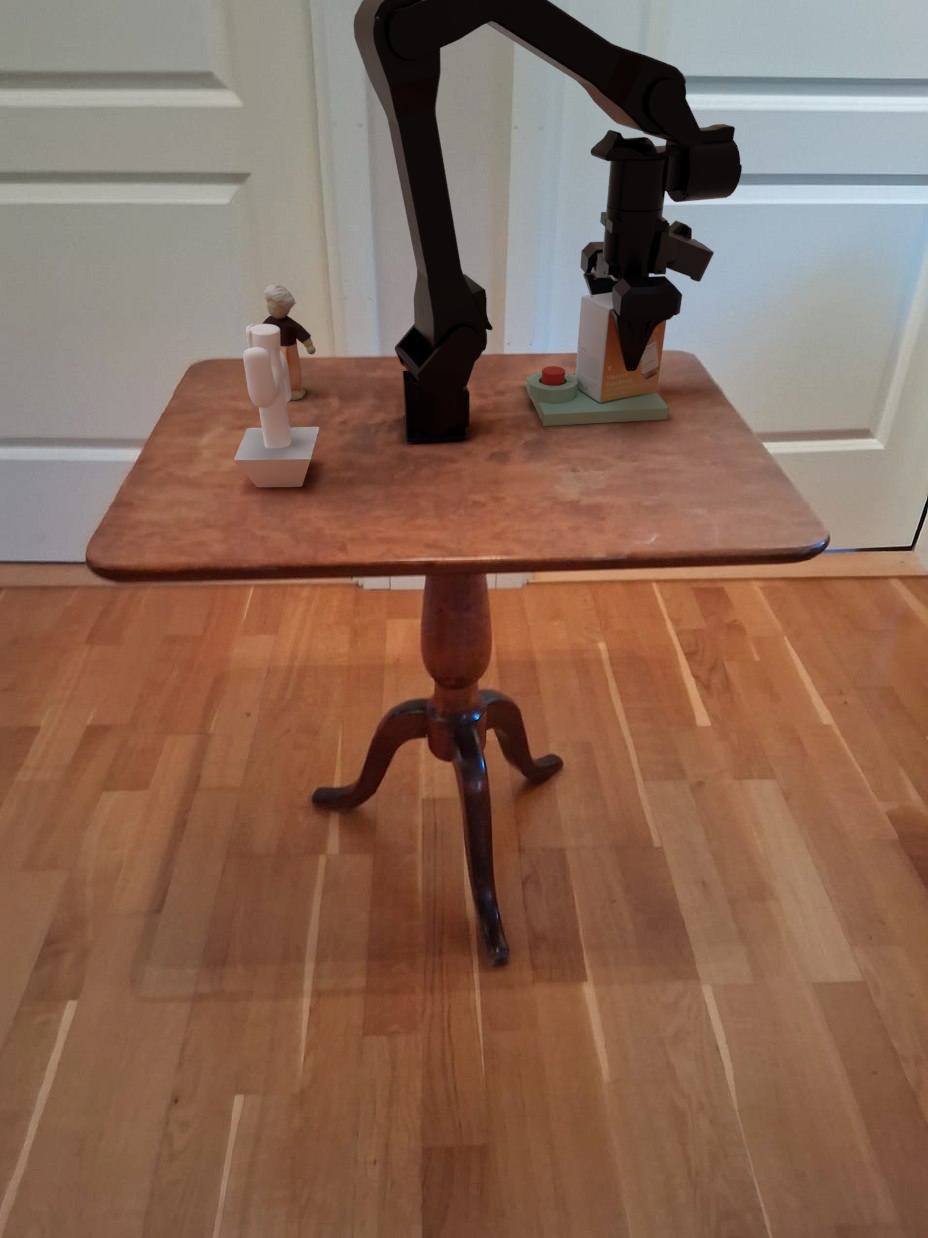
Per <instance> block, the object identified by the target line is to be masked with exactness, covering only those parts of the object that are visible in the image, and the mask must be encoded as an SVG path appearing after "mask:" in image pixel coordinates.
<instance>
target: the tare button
mask: <svg viewBox="0 0 928 1238" xmlns="http://www.w3.org/2000/svg"><path fill="white" fill-rule="evenodd" d="M541 372H542V380H541V383H542V384H544V385H549V386H560V385H563V384H564V381H565V373H566V369H565V368H564V367H560V366H556V365H550V366H544V367H543V368H542V369H541Z"/></svg>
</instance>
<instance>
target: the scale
mask: <svg viewBox="0 0 928 1238" xmlns="http://www.w3.org/2000/svg"><path fill="white" fill-rule="evenodd" d="M541 380H542V371H541V372H537V373H534V374H532V375H531V376H526V386H525V388H526V390H527V394H528V396H529V398H530V400H531V401H532V403H533V406H534V409H535V410H536V412H537V414H538V417H539V420H540V421H541V424H542V426H543V427H553V426H568V425H570V426H571V425H572V426H573V425H587V424H605V423H607V424H609V423H625V422H626V423H627V422H641V421H642V422H644V421H660V420H661V421H662V420H668V415H669V406H668V405H667V404H666V402H665V401H664V399H663V398H662V397H661V395H660V394H659V393H658V391H656V392H655V393H650V394H642V395H636V396H630V397H625V398H619V399H614V400H609V401H605V402H601V403H600V402H598V401H596V400H595V399H593V398H592V397H590V396H588V395H587V394H585V393H584V392H582V391H581V390H579V389H578V381H577V379H576V377H575V374H569V373H567V372H565V381H564V384H563V385H560V386H549V385H544V384H542V383H541Z"/></svg>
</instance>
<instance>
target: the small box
mask: <svg viewBox="0 0 928 1238" xmlns="http://www.w3.org/2000/svg"><path fill="white" fill-rule="evenodd" d="M611 309H614V308H613V303H612V292H611V293H604V294H597V295H590V294H587V295H582V296H581V299H580V311H579V323H578V337H577V340H578V341H577V351H576V360H575V361H576V362H575V374H574V375H575V377H576V379H577V381H578V389H579V390H581V391H582V392H584V393H585V394H587V395H588V396H590V397H592V398H593V399H595V400H596V401H598V402H600V403H601V402H605V401H609V400H614V399H619V398H625V397H630V396H636V395H642V394H650V393H655V392H658V386H659V378H660V371H661V365H662V356H663V351H664V350H663V349H664V341H665V333H666V326H667V320H664V321H663V322H662V323H660V324H659V325H657V326H656V327H655V329H654V331H653V333H652V335H651V337H650V339H649V341H648V344H647V346H646V348H645V351H644V353H643V355H642V358H641V360H640V362H639V365H638V367H637V369H636V370H635V371H626V369H625V366H624V362H623V358H622V354H621V350H620V346H619V341H618V337H617V333H616V329H615V325H614V321H613V317H612V313H611Z"/></svg>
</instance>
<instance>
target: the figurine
mask: <svg viewBox="0 0 928 1238" xmlns="http://www.w3.org/2000/svg"><path fill="white" fill-rule="evenodd" d="M245 334H246V342H247V348H246V349H245V350H244V352H243V356H242V361H243V366H244V367H243V368H244V373H245V380H246V386H247V391H248V396H249V398H250V400H251V403H252V404H253V405H254V406H255V407H257V408H258V412H259V413H258V414H259V418H260V426H261V427H246V430H245V432H244V435H243V436H242V439H241V442H240V444H239V447H238V449H237V452H236V454H235V456H234V458H233V461H234V462H235V464H236V465H237V466H238V467H239V468H240V470H242V471H243V473H244V474H245V475H246V477H248V478H249V480H250V481H251V482H252V483H253V484H254V486H255V487H256V488H302V487H303V485H304V481H305V478H306V475H307V472H308V469H309V466H310V463H311V459H312V455H313V453H314V449H315V444H316V441H317V437H318V434H319V430H320V426H291V425H290V419H289V411H288V410H289V409H288V404H287V403H288V402H290V401H292V400H291V387H290V378H289V369H288V364H287V360H286V358H285V356H284V354H283V353H282V352H281V351H280V328H279V327H277V326H275V325H271V324H262V323H260V324H255V323H250V324H248V325H247V326H246V327H245Z"/></svg>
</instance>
